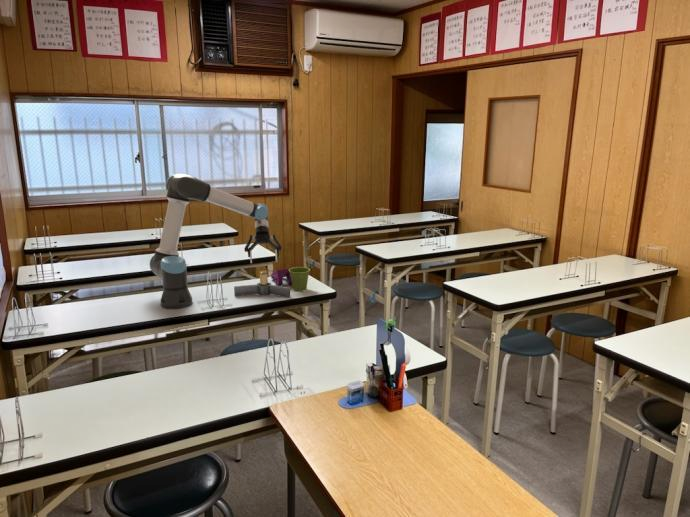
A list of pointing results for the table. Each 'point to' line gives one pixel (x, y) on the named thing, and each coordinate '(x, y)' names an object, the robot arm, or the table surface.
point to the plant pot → (299, 278)
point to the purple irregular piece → (278, 277)
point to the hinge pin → (263, 278)
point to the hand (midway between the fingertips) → (263, 261)
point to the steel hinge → (262, 290)
